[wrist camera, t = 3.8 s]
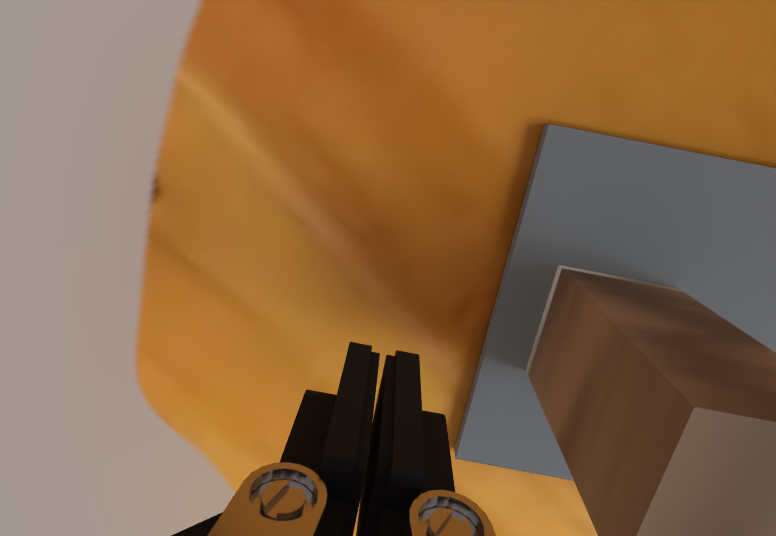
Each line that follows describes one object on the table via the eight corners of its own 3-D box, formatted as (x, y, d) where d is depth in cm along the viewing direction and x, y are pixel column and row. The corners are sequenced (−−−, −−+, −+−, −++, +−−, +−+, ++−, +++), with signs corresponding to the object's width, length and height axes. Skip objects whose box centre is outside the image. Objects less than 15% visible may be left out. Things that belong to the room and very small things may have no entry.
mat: (1149, 241, 17) (1175, 246, 17) (937, 539, 21) (952, 551, 21) (544, 123, 17) (549, 124, 16) (454, 449, 21) (455, 458, 21)
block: (677, 287, 18) (921, 449, 9) (635, 391, 19) (814, 615, 11) (558, 265, 18) (694, 406, 9) (525, 370, 19) (616, 578, 11)
